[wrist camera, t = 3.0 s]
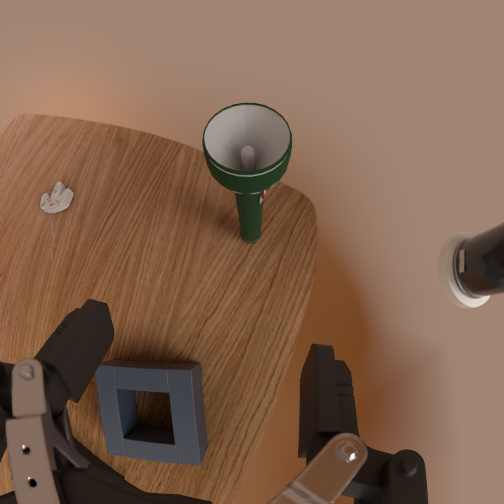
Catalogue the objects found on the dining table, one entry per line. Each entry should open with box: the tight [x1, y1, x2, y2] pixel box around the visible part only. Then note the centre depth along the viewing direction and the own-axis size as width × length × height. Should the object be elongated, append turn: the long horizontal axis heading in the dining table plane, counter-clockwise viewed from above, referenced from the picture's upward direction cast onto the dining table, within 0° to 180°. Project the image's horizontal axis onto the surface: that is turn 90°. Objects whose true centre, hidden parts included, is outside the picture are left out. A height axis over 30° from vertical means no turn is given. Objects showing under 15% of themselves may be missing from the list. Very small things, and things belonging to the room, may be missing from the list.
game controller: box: [40, 181, 74, 262], centre depth 34 cm, size 6×12×3 cm, turn 22°
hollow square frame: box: [95, 360, 208, 465], centre depth 28 cm, size 11×11×5 cm
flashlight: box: [202, 103, 292, 243], centre depth 25 cm, size 5×5×20 cm
